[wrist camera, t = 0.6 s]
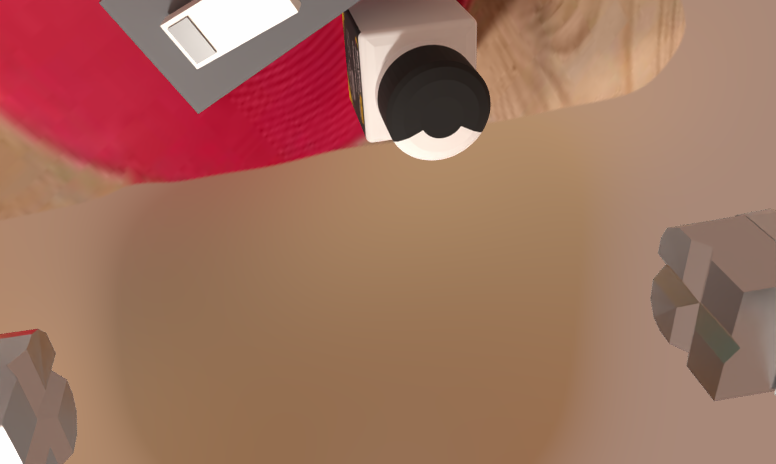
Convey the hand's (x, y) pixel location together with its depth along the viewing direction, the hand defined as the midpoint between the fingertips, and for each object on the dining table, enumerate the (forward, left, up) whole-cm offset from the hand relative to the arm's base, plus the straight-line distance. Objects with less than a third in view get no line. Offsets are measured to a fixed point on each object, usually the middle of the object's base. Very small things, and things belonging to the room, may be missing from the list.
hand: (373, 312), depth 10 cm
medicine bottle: (+14, +2, -40) cm, 42 cm away
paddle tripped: (+4, -4, -32) cm, 33 cm away
